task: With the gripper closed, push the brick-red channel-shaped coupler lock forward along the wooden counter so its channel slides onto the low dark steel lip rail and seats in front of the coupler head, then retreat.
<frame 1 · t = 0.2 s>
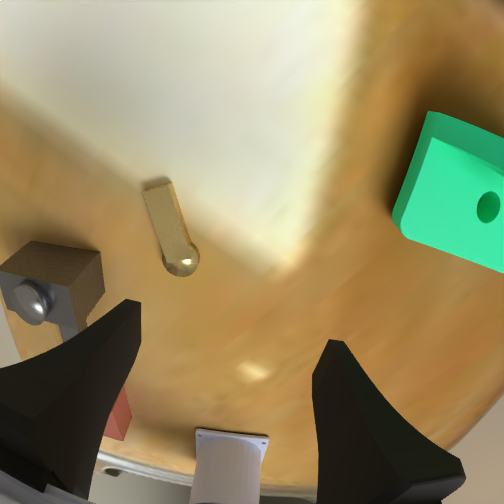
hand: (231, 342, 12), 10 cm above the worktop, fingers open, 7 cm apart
lock: (99, 393, 30), on the worktop
camera mount: (467, 194, 19), on the worktop
key: (170, 221, 21), on the worktop
coupler: (90, 371, 28), on the worktop
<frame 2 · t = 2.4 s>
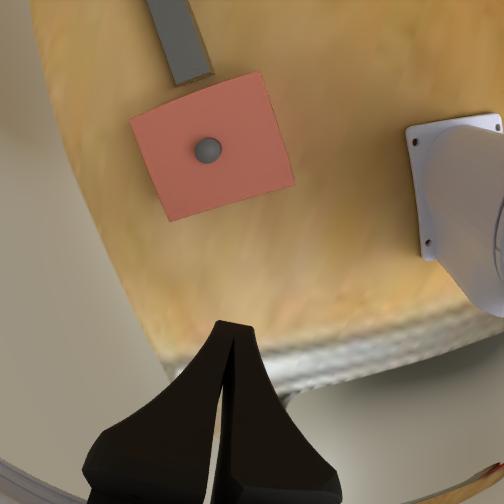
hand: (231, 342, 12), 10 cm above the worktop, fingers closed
lock: (220, 140, 19), on the worktop
coupler: (199, 79, 17), on the worktop
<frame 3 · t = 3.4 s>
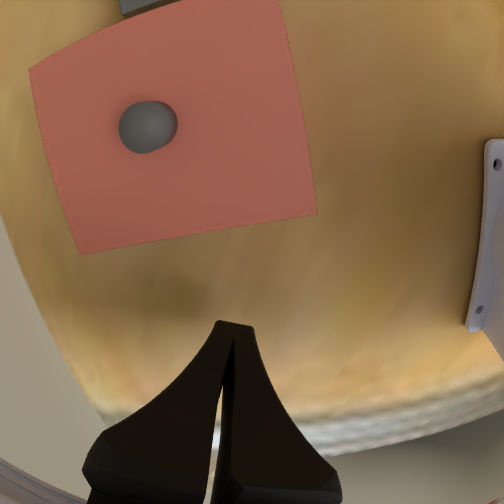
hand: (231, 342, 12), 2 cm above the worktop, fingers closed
lock: (188, 116, 10), on the worktop
coupler: (166, 14, 9), on the worktop
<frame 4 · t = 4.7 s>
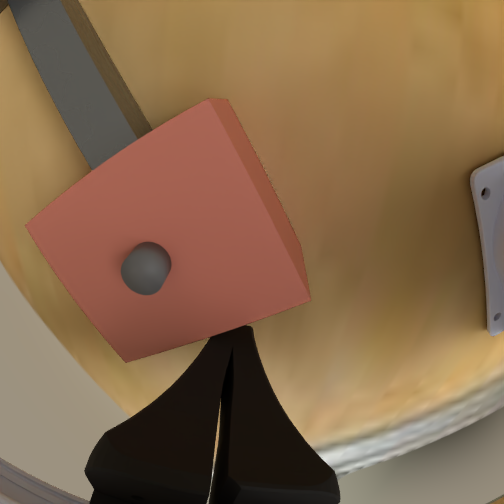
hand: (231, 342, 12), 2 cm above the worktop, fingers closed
lock: (181, 216, 12), on the worktop, touching gripper
coupler: (137, 155, 11), on the worktop
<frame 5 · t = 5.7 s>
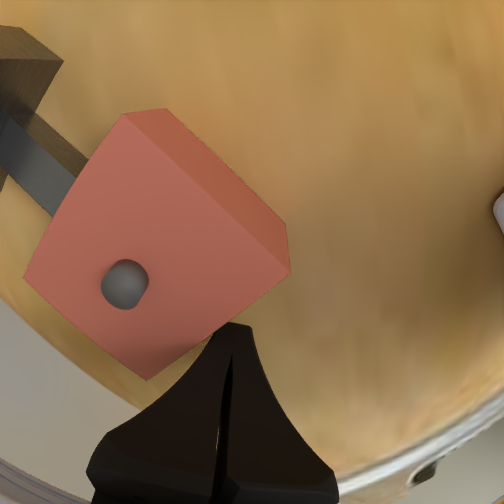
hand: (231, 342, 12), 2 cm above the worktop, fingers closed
lock: (164, 229, 12), on the worktop, touching gripper
coupler: (206, 286, 13), on the worktop
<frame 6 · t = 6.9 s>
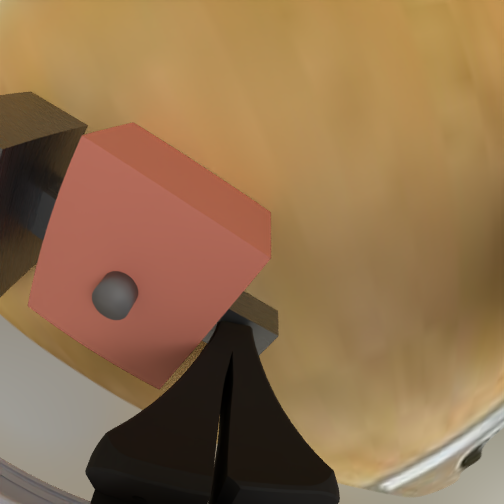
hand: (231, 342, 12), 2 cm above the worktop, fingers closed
lock: (155, 239, 12), on the worktop, touching gripper
coupler: (264, 326, 14), on the worktop
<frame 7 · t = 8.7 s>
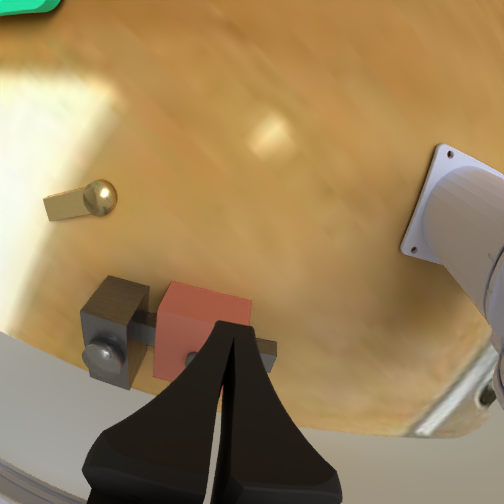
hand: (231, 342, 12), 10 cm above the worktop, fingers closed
lock: (204, 326, 25), on the worktop
key: (75, 201, 21), on the worktop
coupler: (273, 350, 26), on the worktop
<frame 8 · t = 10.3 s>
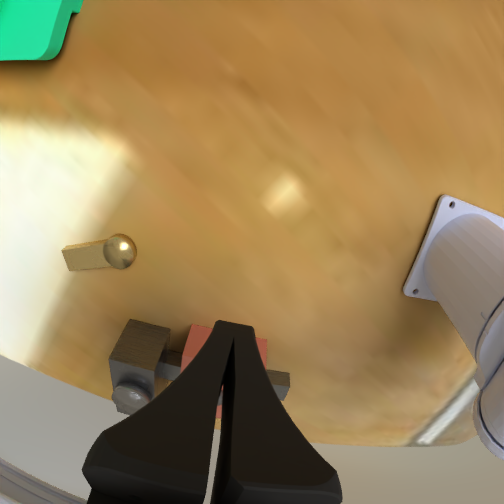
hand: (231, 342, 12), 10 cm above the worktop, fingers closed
lock: (222, 361, 27), on the worktop
key: (94, 252, 23), on the worktop
coupler: (286, 380, 27), on the worktop
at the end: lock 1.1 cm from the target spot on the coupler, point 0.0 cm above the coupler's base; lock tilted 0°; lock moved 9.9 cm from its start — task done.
